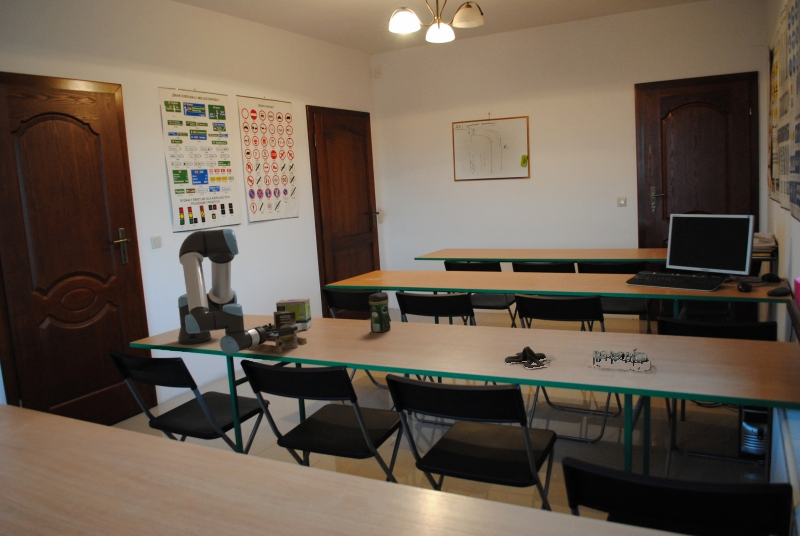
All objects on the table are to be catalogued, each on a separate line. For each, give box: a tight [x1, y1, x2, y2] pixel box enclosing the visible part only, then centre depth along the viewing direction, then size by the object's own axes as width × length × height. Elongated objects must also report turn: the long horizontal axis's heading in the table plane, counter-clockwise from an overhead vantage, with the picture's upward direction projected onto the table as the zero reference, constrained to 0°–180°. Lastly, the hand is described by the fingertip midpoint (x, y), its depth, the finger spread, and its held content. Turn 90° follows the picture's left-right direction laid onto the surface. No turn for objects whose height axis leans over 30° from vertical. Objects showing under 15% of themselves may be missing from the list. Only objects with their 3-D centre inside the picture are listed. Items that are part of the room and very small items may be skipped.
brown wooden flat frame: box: [251, 336, 308, 354], centre depth 264 cm, size 24×17×2 cm
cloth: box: [504, 346, 547, 368], centre depth 219 cm, size 22×19×6 cm
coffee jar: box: [368, 291, 391, 334], centre depth 280 cm, size 10×8×19 cm
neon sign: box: [592, 350, 649, 366], centre depth 216 cm, size 21×4×29 cm
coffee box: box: [273, 310, 298, 350], centre depth 259 cm, size 9×6×16 cm
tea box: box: [275, 297, 313, 331], centre depth 295 cm, size 15×10×15 cm, turn 84°
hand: (292, 325), depth 262 cm, fingers closed on coffee box, 10 cm apart
